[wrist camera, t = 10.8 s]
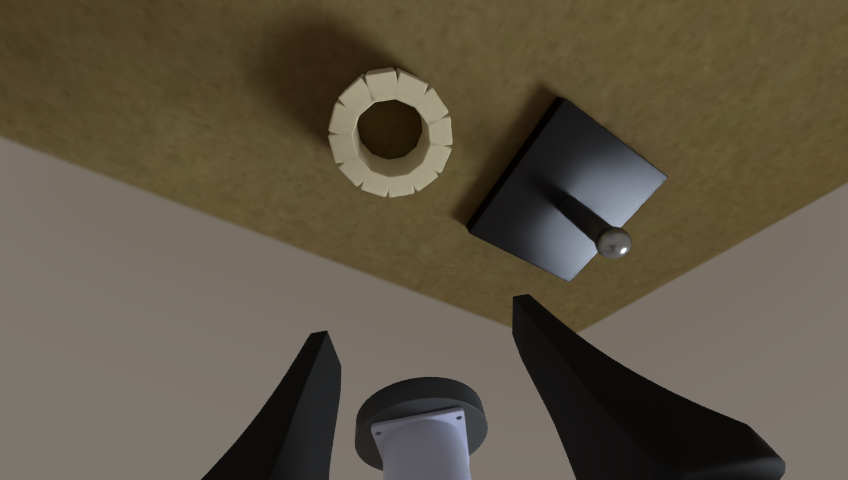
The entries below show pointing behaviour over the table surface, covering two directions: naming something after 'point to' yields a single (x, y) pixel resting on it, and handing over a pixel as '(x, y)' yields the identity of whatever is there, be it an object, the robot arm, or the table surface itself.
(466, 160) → the table surface
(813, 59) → the table surface
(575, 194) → the stand
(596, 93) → the table surface
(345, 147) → the beige ring
